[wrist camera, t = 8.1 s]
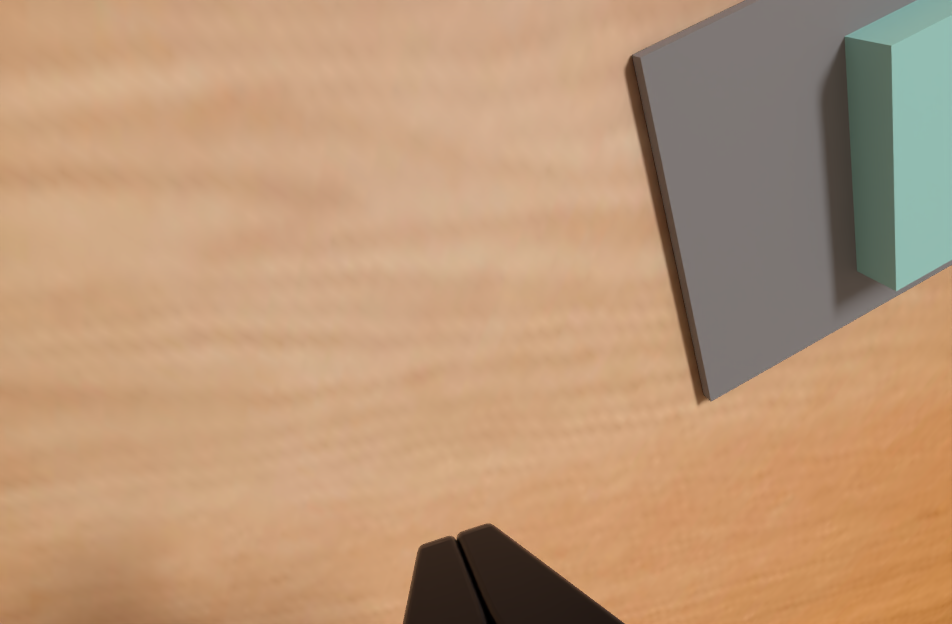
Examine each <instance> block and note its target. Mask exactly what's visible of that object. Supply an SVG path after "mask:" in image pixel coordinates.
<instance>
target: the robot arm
mask: <svg viewBox="0 0 952 624" xmlns="http://www.w3.org/2000/svg"><path fill="white" fill-rule="evenodd" d="M403 624H624V623H623V622H622V621H620V620H619V619H618V618H616V617H615V616H614V615H612V614H611V613H610V612H609V611H607V610H606V609H605V608H603V607H602V606H601V605H599V604H598V603H597V602H595V601H594V600H593V599H591V598H590V597H589V596H587V595H586V594H585V593H583V592H582V591H581V590H579V589H578V588H577V587H575V586H574V585H573V584H571V583H570V582H569V581H567V580H566V579H565V578H563V577H562V576H561V575H559V574H558V573H557V572H555V571H554V570H553V569H551V568H550V567H549V566H547V565H546V564H545V563H543V562H542V561H541V560H539V559H538V558H537V557H535V556H534V555H533V554H531V553H530V552H529V551H527V550H526V549H525V548H523V547H522V546H521V545H519V544H518V543H517V542H515V541H514V540H513V539H511V538H510V537H509V536H507V535H506V534H505V533H503V532H502V531H501V530H499V529H498V528H497V527H495V526H494V525H492V524H484V525H480V526H477V527H474V528H471V529H468V530H465V531H462V532H460V533H459V534H458V535H457V541H456V539H455V538H454V537H452V536H447V537H444V538H441V539H438V540H435V541H432V542H429V543H425V544H423V545H422V546H420V547H419V549H418V552H417V557H416V562H415V566H414V571H413V576H412V581H411V586H410V591H409V596H408V601H407V606H406V610H405V615H404V620H403Z"/></svg>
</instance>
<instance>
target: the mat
mask: <svg viewBox="0 0 952 624" xmlns="http://www.w3.org/2000/svg"><path fill="white" fill-rule="evenodd" d="M914 1H916V0H745V1H743V2H741V3H739V4H737V5H735V6H733V7H730V8H728V9H726V10H724V11H722V12H720V13H718V14H716V15H714V16H712V17H710V18H708V19H706V20H704V21H701V22H699V23H697V24H695V25H693V26H691V27H689V28H687V29H685V30H683V31H681V32H679V33H677V34H674V35H672V36H670V37H668V38H666V39H664V40H662V41H660V42H658V43H656V44H654V45H652V46H650V47H648V48H645V49H643V50H641V51H639V52H637V53H635V54H633V55H632V58H633V63H634V67H635V72H636V77H637V82H638V86H639V91H640V96H641V100H642V105H643V110H644V115H645V119H646V124H647V129H648V134H649V138H650V143H651V148H652V152H653V157H654V162H655V167H656V171H657V176H658V181H659V186H660V190H661V195H662V200H663V204H664V209H665V214H666V219H667V223H668V228H669V233H670V237H671V242H672V247H673V252H674V256H675V261H676V266H677V271H678V275H679V280H680V285H681V289H682V294H683V299H684V304H685V308H686V313H687V318H688V323H689V327H690V332H691V337H692V341H693V346H694V351H695V356H696V360H697V365H698V370H699V374H700V379H701V384H702V389H703V393H704V396H705V397H707V398H708V399H709V400H710V401H713V400H715V399H716V398H718V397H720V396H722V395H723V394H725V393H727V392H729V391H730V390H732V389H734V388H736V387H738V386H739V385H741V384H743V383H745V382H746V381H748V380H750V379H752V378H753V377H755V376H757V375H759V374H760V373H762V372H764V371H766V370H767V369H769V368H771V367H773V366H775V365H776V364H778V363H780V362H782V361H783V360H785V359H787V358H789V357H790V356H792V355H794V354H796V353H797V352H799V351H801V350H803V349H804V348H806V347H808V346H810V345H812V344H813V343H815V342H817V341H819V340H820V339H822V338H824V337H826V336H827V335H829V334H831V333H833V332H834V331H836V330H838V329H840V328H841V327H843V326H845V325H847V324H849V323H850V322H852V321H854V320H856V319H857V318H859V317H861V316H863V315H864V314H866V313H868V312H870V311H871V310H873V309H875V308H877V307H878V306H880V305H882V304H884V303H886V302H887V301H889V300H891V299H893V298H894V297H896V296H898V295H900V294H901V293H903V292H905V291H907V290H908V289H910V288H912V287H914V286H915V285H917V284H919V283H921V282H923V281H924V280H926V279H928V278H930V277H931V276H933V275H935V274H937V273H938V272H940V271H942V270H944V269H945V268H947V267H949V266H951V265H952V260H951V261H949V262H947V263H945V264H943V265H942V266H940V267H938V268H936V269H935V270H933V271H931V272H929V273H928V274H926V275H924V276H922V277H921V278H919V279H917V280H915V281H913V282H912V283H910V284H908V285H906V286H905V287H903V288H901V289H899V290H898V291H895V290H893V289H891V288H889V287H887V286H885V285H883V284H881V283H879V282H877V281H875V280H873V279H871V278H869V277H867V276H866V275H864V274H862V273H860V272H858V271H857V261H856V242H855V223H854V204H853V186H852V167H851V148H850V130H849V111H848V92H847V74H846V55H845V36H846V35H848V34H850V33H852V32H854V31H856V30H858V29H860V28H862V27H864V26H866V25H868V24H870V23H872V22H874V21H876V20H878V19H880V18H882V17H884V16H886V15H888V14H890V13H892V12H894V11H896V10H898V9H900V8H902V7H904V6H906V5H908V4H910V3H912V2H914Z"/></svg>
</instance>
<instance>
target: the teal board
mask: <svg viewBox="0 0 952 624" xmlns="http://www.w3.org/2000/svg"><path fill="white" fill-rule="evenodd" d="M845 55H846V74H847V92H848V111H849V130H850V148H851V167H852V186H853V204H854V223H855V242H856V261H857V271H858V272H860V273H862V274H864V275H866V276H867V277H869V278H871V279H873V280H875V281H877V282H879V283H881V284H883V285H885V286H887V287H889V288H891V289H893V290H895V291H898V290H899V289H901V288H903V287H905V286H906V285H908V284H910V283H912V282H913V281H915V280H917V279H919V278H921V277H922V276H924V275H926V274H928V273H929V272H931V271H933V270H935V269H936V268H938V267H940V266H942V265H943V264H945V263H947V262H949V261H951V260H952V0H916V1H914V2H912V3H910V4H908V5H906V6H904V7H902V8H900V9H898V10H896V11H894V12H892V13H890V14H888V15H886V16H884V17H882V18H880V19H878V20H876V21H874V22H872V23H870V24H868V25H866V26H864V27H862V28H860V29H858V30H856V31H854V32H852V33H850V34H848V35H846V36H845Z"/></svg>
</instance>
